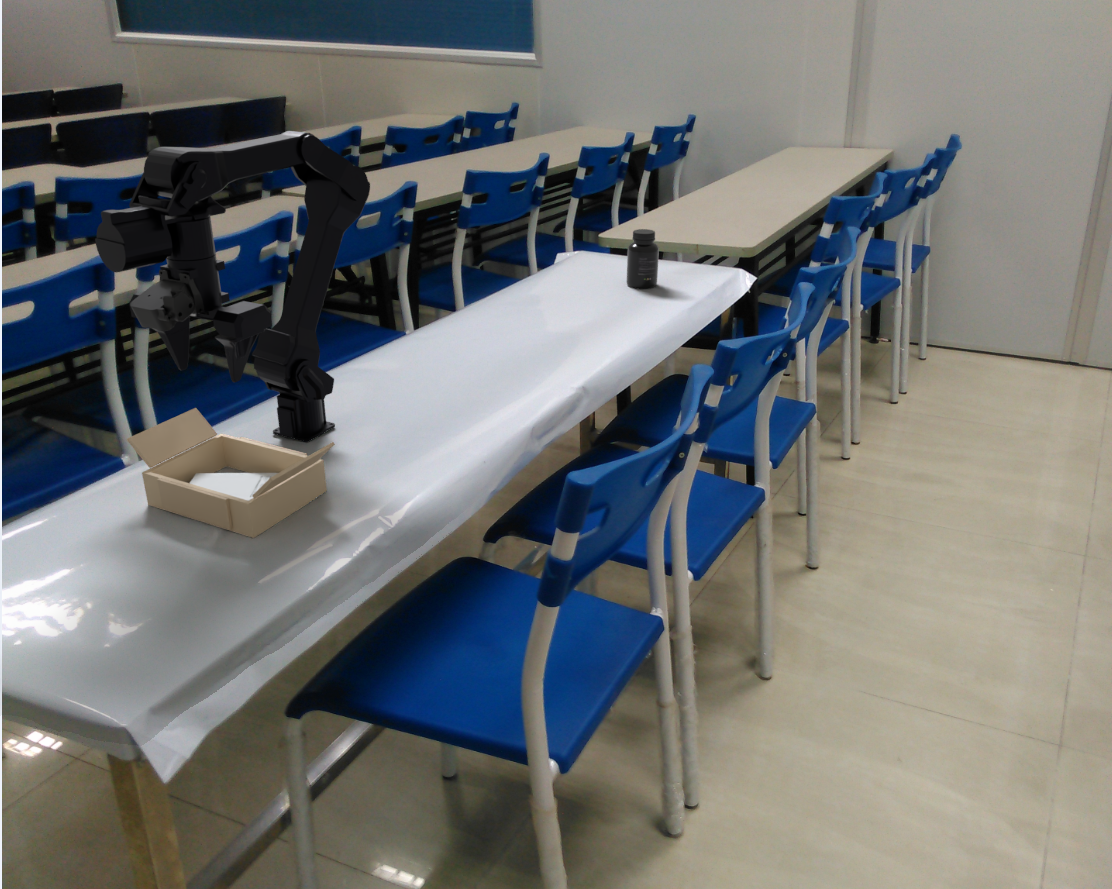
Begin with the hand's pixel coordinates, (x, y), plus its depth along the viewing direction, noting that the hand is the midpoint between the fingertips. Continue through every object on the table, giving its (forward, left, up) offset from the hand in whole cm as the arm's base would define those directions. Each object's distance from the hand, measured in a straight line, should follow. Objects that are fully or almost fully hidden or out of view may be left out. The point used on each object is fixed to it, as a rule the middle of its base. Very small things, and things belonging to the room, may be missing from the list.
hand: (209, 375), depth 123 cm
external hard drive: (+6, +9, -13) cm, 17 cm away
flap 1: (+6, -1, -6) cm, 9 cm away
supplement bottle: (-111, +15, -13) cm, 113 cm away
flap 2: (+6, +18, -6) cm, 20 cm away
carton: (+6, +9, -13) cm, 17 cm away
